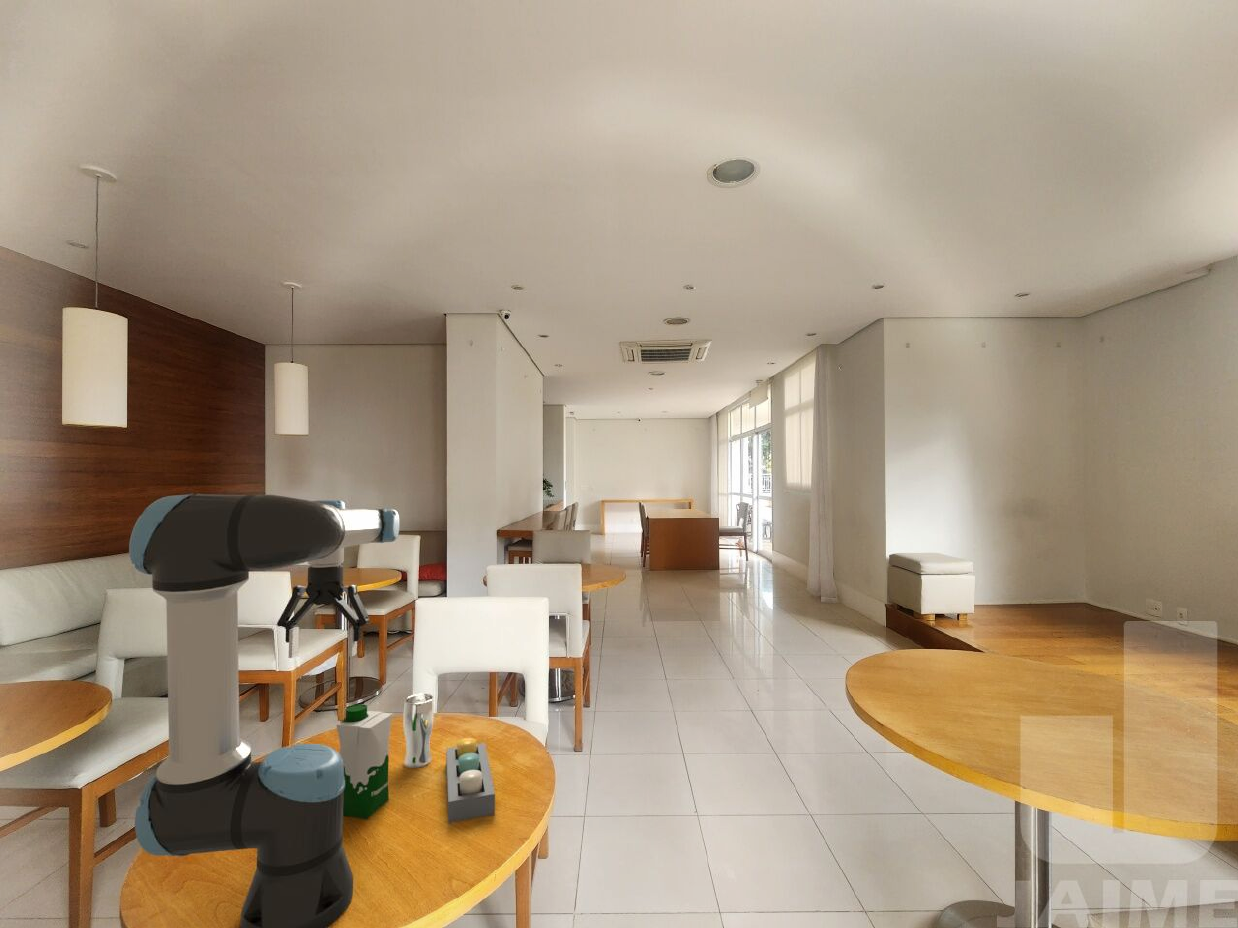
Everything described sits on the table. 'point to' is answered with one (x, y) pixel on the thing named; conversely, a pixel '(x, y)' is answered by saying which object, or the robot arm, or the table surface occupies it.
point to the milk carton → (364, 760)
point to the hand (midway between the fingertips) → (323, 655)
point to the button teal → (468, 762)
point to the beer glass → (418, 729)
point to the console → (470, 803)
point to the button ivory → (470, 782)
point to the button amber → (466, 746)
